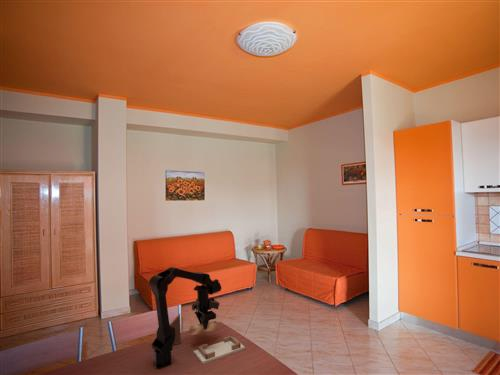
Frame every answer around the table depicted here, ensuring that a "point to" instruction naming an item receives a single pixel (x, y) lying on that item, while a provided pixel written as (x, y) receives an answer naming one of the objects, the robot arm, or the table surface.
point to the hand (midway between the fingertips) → (203, 327)
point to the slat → (200, 329)
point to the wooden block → (176, 329)
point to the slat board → (218, 349)
